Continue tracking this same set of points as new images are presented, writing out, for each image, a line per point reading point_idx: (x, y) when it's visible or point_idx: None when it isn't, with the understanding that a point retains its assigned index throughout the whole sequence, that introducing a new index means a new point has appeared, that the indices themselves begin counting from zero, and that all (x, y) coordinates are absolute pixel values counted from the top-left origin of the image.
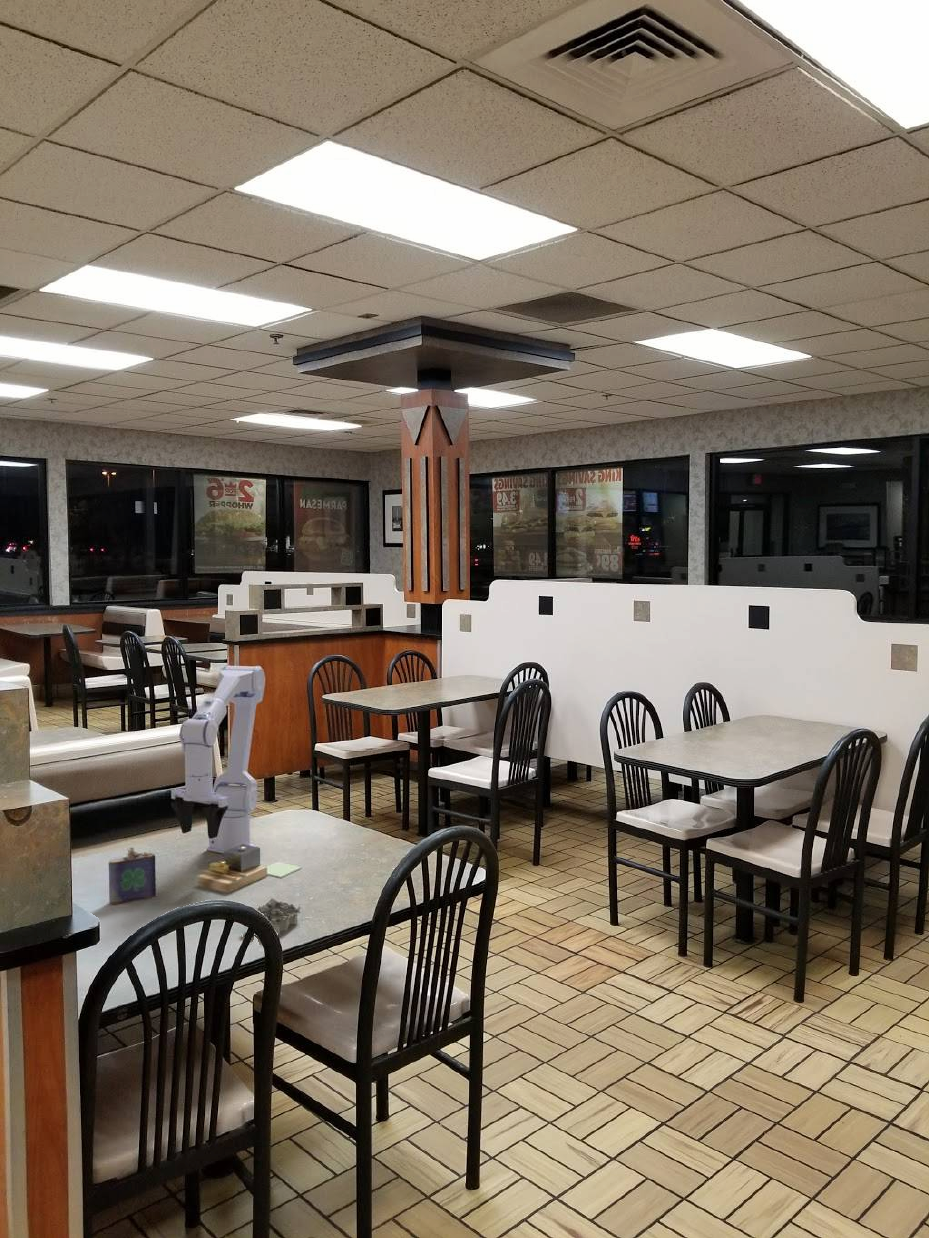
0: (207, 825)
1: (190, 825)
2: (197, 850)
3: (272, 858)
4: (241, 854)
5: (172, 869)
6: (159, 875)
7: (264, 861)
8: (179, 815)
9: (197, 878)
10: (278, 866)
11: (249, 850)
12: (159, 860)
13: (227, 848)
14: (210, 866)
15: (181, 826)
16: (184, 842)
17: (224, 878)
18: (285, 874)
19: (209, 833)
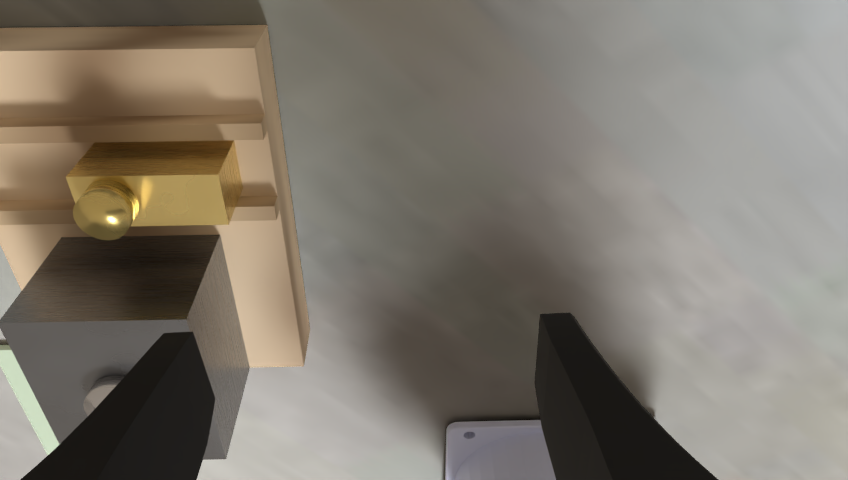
0: (124, 436)
1: (546, 426)
2: (699, 396)
3: (281, 474)
4: (19, 337)
5: (645, 148)
6: (658, 22)
7: (278, 440)
8: (637, 465)
9: (253, 41)
10: None
11: (67, 408)
12: (827, 213)
13: (517, 450)
14: (212, 165)
15: (584, 356)
16: (836, 432)
17: (48, 117)
18: (7, 377)
19: (143, 365)
